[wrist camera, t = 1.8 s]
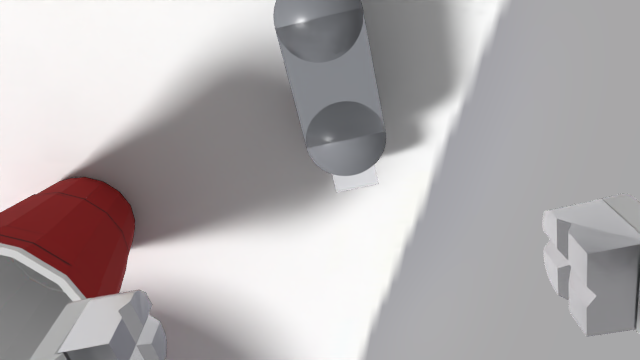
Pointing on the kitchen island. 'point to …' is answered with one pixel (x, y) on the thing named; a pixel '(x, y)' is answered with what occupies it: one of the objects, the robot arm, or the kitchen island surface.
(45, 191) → the plastic cup
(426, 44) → the kitchen island surface
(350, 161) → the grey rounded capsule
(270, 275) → the kitchen island surface
